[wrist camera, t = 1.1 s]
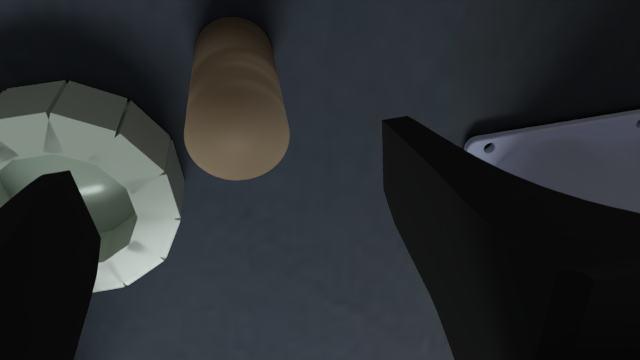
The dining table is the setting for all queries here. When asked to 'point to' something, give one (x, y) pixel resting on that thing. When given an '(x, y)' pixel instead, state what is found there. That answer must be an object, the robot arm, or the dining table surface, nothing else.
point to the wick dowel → (235, 102)
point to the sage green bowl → (97, 168)
